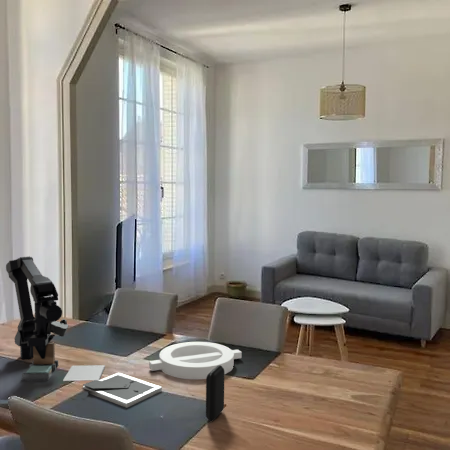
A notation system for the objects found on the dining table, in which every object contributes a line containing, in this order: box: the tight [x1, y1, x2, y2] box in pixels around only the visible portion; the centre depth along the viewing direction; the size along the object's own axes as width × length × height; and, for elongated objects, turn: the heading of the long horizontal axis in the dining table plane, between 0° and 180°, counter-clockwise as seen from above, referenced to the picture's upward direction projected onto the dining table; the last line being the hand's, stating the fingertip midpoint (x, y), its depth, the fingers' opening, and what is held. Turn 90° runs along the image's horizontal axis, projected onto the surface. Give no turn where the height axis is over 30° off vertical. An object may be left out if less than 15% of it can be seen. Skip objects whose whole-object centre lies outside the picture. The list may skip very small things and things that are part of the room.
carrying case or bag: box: [205, 365, 225, 422], centre depth 153 cm, size 11×3×15 cm, turn 159°
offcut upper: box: [26, 366, 52, 373], centre depth 181 cm, size 6×7×1 cm
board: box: [62, 364, 106, 382], centre depth 183 cm, size 14×12×1 cm
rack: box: [20, 359, 59, 382], centre depth 183 cm, size 14×9×3 cm, turn 4°
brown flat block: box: [32, 341, 56, 364], centre depth 187 cm, size 2×7×9 cm, turn 94°
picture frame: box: [82, 372, 163, 408], centre depth 170 cm, size 16×3×21 cm
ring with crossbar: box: [148, 341, 243, 380], centre depth 195 cm, size 28×28×5 cm
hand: (44, 357), depth 187 cm, fingers closed on brown flat block, 2 cm apart
